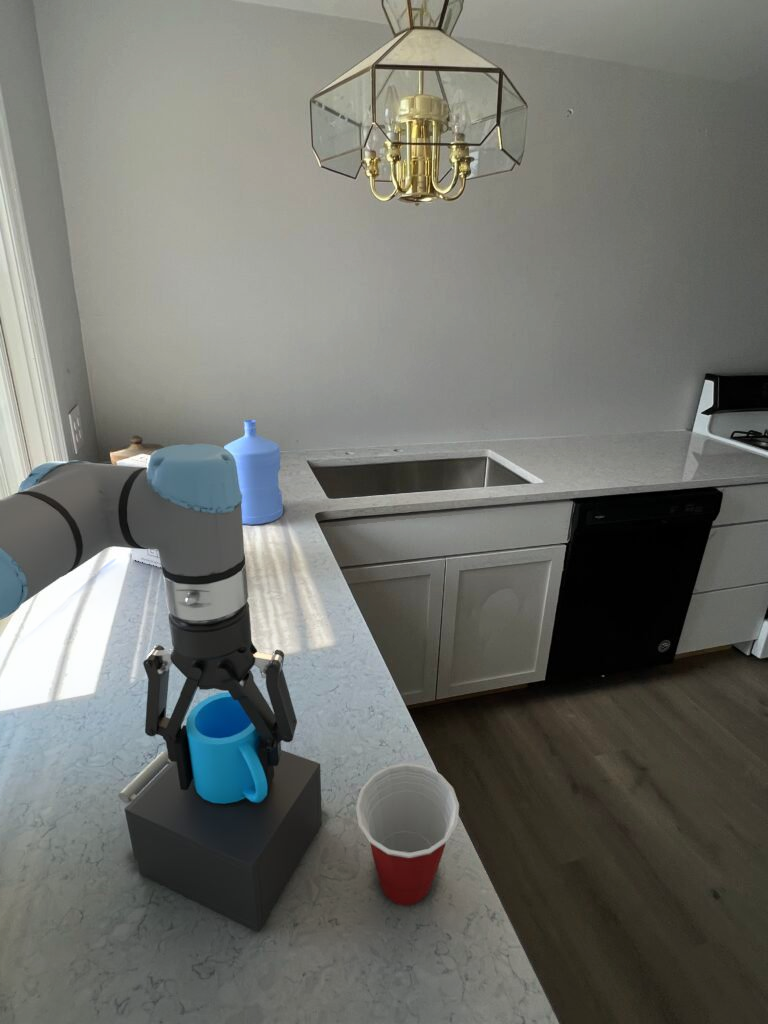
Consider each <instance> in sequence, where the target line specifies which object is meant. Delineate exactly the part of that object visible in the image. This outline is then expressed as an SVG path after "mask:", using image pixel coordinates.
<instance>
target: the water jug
mask: <svg viewBox="0 0 768 1024" xmlns="http://www.w3.org/2000/svg"><path fill="white" fill-rule="evenodd" d="M243 423H244V427H243V428H244V435H243V436H241V437H239V438H236V439H235V440H233V441H231V442H229V443H227V444H225V445H224V447H223V448H225V449H227V450H228V451H229V452H230V453H231V454H232V455H233V456H234V458H235V461H236V466H237V473H238V480H239V487H240V491H241V493H242V499H241V500H242V504H241V507H242V524H243V525H251V526H252V525H253V526H254V525H255V526H256V525H264V524H268V523H272V522H275V521H277V520H278V519H280V518H281V517H282V516H283V514H284V505H283V495H282V494H283V493H282V489H280V485H279V473H280V470H281V450H280V446H279V444H278V443H276V441H275V442H274V441H272V440H270V439H267V438H265V437H262V436H260V435H258V434H257V426H256V423H257V420H255V419H245V420H244V421H243Z"/></svg>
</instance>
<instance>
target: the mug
mask: <svg viewBox="0 0 768 1024" xmlns="http://www.w3.org/2000/svg"><path fill="white" fill-rule="evenodd" d="M185 725H186V730H187V737H188V745H189V752H190V759H191V766H192V774H193V781H194V786H195V788H196V791H197V793H198V794H199V795H200V796H201V797H202V798H203V799H205V800H208V801H210V802H213V803H222V804H226V803H232V802H237V801H239V800H242V799H244V798H247V799H249V800H250V801H251V802H257V803H258V802H261V801H262V800H263V799H264V798H265V797H266V795H267V787H268V786H267V781H266V776H265V773H264V770H263V767H262V765H261V763H260V761H259V752H258V746H259V743H260V740H261V736H260V735H259V733H258V731H257V730H256V728H255V727H254V725H253V724H252V722H251V720H250V719H249V717H248V716H247V714H246V713H245V711H244V709H243V708H242V706H241V705H240V703H239V702H238V700H234V699H233V698H232V696H231V695H230V693H229V692H228V691H224V692H219V693H216V694H213V695H211V696H207V697H206V698H205V699H203V700H201V701H199V702H198V703H197V704H196V705H195V706H193V708H192V709H191V710H190V712H189V714H188V716H187V717H186V721H185Z"/></svg>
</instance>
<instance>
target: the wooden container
mask: <svg viewBox="0 0 768 1024" xmlns="http://www.w3.org/2000/svg"><path fill="white" fill-rule="evenodd" d="M143 440H144V439H143V437H142V436H140V435H132V436H131V437H130V438H129V442H130V444H126V445H121V446H117V447H114V448H112V449H111V450H109V455H110V462H111V465H117V461H120V460H123V459H126V458H130V457H133V456H136V455H140V454H146V455H151V454H152V453H153V452H155V451H157V450H159V449H162V448H165V447H164V446H163V445H161V444H158V443H143Z"/></svg>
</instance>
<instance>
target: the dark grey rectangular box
mask: <svg viewBox="0 0 768 1024" xmlns="http://www.w3.org/2000/svg"><path fill="white" fill-rule="evenodd" d="M321 775H322V774H321V763H320V762H317V761H314V760H311V759H309V758H305V757H304V756H303V757H302V756H300V755H297V754H294V753H292V752H289V751H287V750H286V751H285V750H283V749H281V756H280V760H279V763H278V765H277V766H274V777H273V780H272V784H271V788H270V791H269V794H267V795H266V797H265V798H264V799H263V800H262V801H261V802H258V803H257V802H251V801H250V800H249V799H247V798H244V799H242V800H239V801H237V802H232V803H226V804H222V803H213V802H210V801H208V800H205V799H203V798H202V797H201V796H200V795H199V794H198V793H197V791H196V788H195V786H194V781H193V779H192V781H191V783H190V786H189V788H188V790H181V788H180V781H179V775H178V768H177V762H174V763H173V764H172V765H171V766H170V767H169V768H168V769H167V771H166V772H165V773H164V774H163V775H162V776H161V777H160V778H159V779H158V780H157V781H156V782H155V783H154V784H153V785H152V786H151V787H150V788H149V789H148V790H147V791H146V792H145V793H144V794H143V795H142V796H141V797H140V798H139V799H138V800H137V801H136V802H135V803H134V804H133V805H132V806H131V807H130V808H129V809H128V810H127V812H128V817H129V822H130V827H131V832H132V837H133V842H134V847H135V852H136V857H137V860H136V861H137V867H138V871H139V875H141V876H143V877H144V878H147V879H149V880H150V881H153V882H155V883H157V884H159V885H161V886H163V887H165V888H167V889H169V890H171V891H172V892H175V893H177V894H179V895H181V896H183V897H186V898H187V899H189V900H191V901H193V902H195V903H197V904H200V905H202V906H204V907H205V908H207V909H209V910H211V911H214V912H216V913H218V914H220V915H221V916H224V917H226V918H227V919H230V920H231V921H234V922H236V923H238V924H240V925H242V926H244V927H246V928H248V929H250V930H252V931H254V932H256V933H259V932H260V931H261V929H262V927H263V925H264V924H265V922H266V920H267V918H268V917H269V915H270V913H271V912H272V910H273V908H274V907H275V905H276V903H277V902H278V900H279V898H280V896H281V894H282V893H283V891H284V889H285V888H286V886H287V885H288V883H289V881H290V879H291V878H292V876H293V874H294V872H295V871H296V869H297V867H298V866H299V864H300V862H301V860H302V858H303V856H304V855H305V853H306V852H307V850H308V848H309V846H310V845H311V843H312V841H313V840H314V838H315V836H316V834H317V833H318V831H319V829H320V827H321V826H322V824H323V820H322V819H323V816H322V813H323V812H322V782H321V781H322V780H321Z"/></svg>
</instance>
